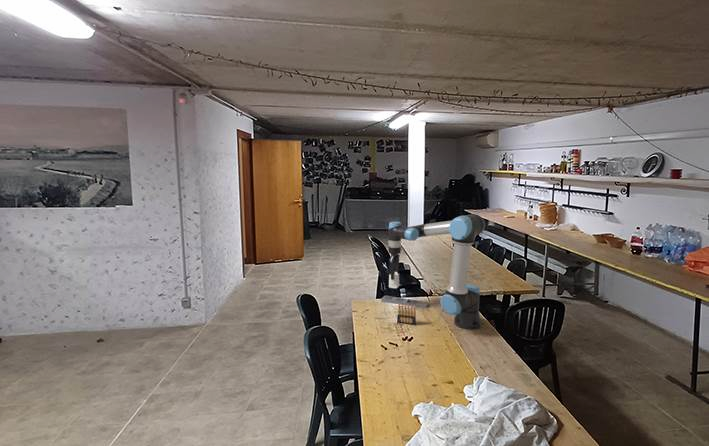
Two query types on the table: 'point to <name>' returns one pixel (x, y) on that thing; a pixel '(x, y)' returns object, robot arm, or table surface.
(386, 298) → the strip
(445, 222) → the robot arm
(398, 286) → the charger
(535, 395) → the table surface
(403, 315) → the ammunition clip
